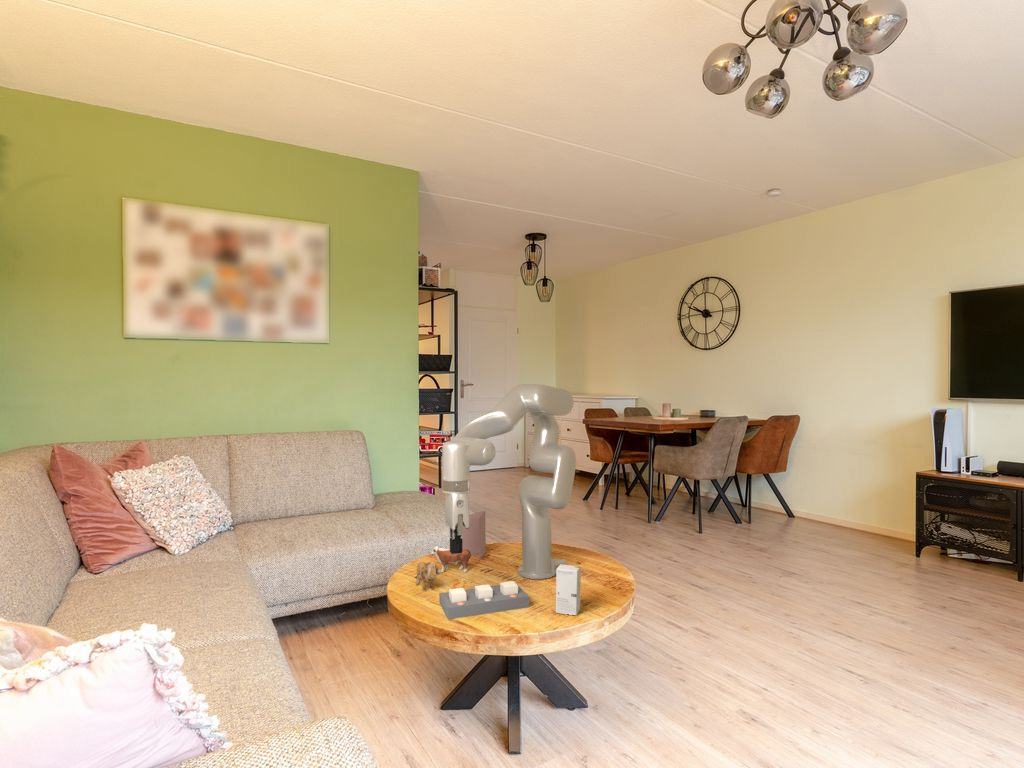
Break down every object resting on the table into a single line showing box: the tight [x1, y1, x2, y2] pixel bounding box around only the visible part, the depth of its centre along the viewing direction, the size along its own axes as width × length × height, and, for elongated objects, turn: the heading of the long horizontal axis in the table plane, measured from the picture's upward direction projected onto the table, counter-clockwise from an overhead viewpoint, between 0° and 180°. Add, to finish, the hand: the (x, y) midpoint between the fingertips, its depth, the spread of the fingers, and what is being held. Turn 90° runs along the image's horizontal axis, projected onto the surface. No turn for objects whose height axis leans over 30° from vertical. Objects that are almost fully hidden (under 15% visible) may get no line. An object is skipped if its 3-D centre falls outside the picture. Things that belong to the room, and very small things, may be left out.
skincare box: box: [555, 564, 582, 616], centre depth 153 cm, size 6×4×12 cm
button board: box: [438, 582, 530, 620], centre depth 158 cm, size 23×11×3 cm, turn 109°
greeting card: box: [462, 510, 487, 562], centre depth 201 cm, size 11×7×15 cm, turn 136°
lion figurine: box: [414, 561, 442, 592], centre depth 173 cm, size 15×5×9 cm, turn 34°
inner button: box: [499, 580, 518, 595], centre depth 160 cm, size 4×4×4 cm
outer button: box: [448, 587, 466, 603], centre depth 155 cm, size 4×4×4 cm
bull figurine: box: [431, 545, 472, 574], centre depth 186 cm, size 4×13×8 cm, turn 84°
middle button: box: [474, 583, 493, 599], centre depth 158 cm, size 4×4×4 cm
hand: (456, 552), depth 155 cm, fingers closed
